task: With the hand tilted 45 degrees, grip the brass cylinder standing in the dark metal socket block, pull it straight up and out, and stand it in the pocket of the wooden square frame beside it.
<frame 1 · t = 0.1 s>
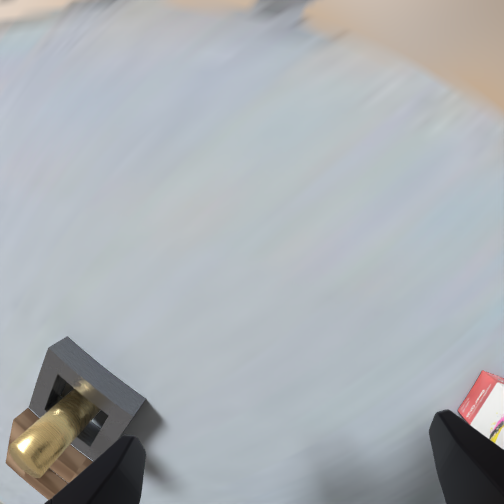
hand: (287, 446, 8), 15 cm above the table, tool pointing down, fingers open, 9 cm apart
wooden square frame: (57, 463, 27), on the table
socket block: (88, 397, 25), on the table
brass cylinder: (59, 426, 20), in the socket block
ink cartridge box: (491, 397, 23), on the table
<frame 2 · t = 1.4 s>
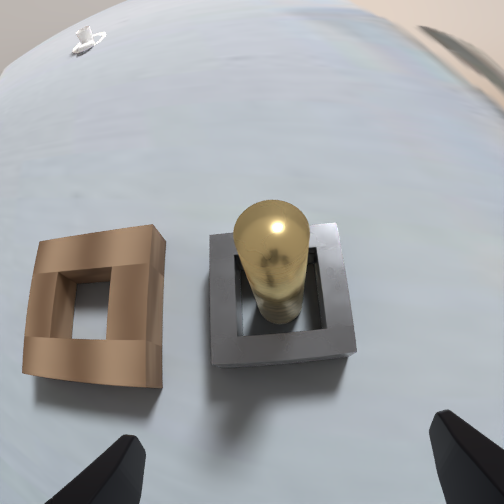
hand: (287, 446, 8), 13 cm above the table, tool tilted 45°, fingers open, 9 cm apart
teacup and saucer: (78, 53, 49), on the table
wooden square frame: (98, 313, 25), on the table
socket block: (280, 302, 23), on the table
brass cylinder: (277, 277, 18), in the socket block
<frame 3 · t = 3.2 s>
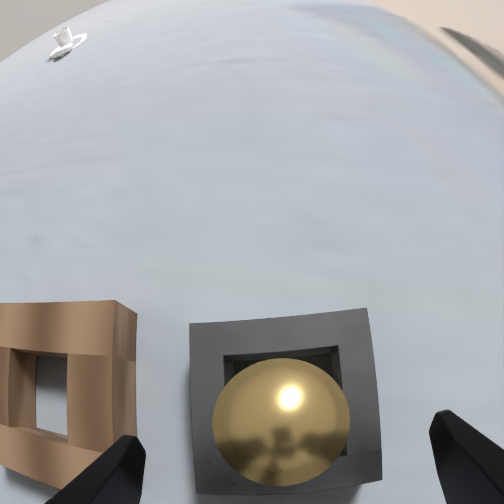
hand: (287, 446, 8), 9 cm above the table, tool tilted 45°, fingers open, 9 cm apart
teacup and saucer: (56, 57, 42), on the table
wooden square frame: (62, 397, 18), on the table
socket block: (285, 405, 17), on the table
brass cylinder: (284, 411, 12), in the socket block
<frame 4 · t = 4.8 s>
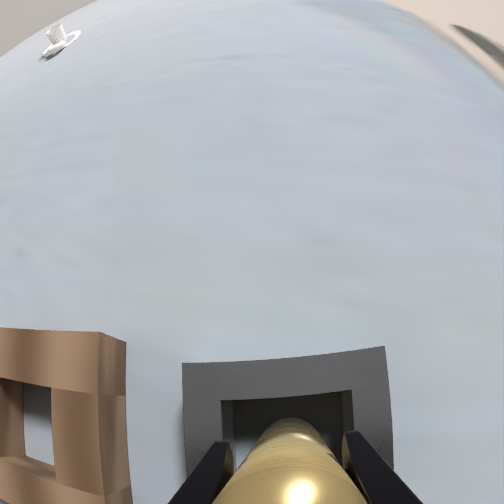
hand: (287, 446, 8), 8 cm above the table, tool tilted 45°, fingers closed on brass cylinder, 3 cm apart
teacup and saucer: (48, 56, 40), on the table
wooden square frame: (50, 426, 15), on the table
socket block: (289, 446, 14), on the table
brass cylinder: (289, 472, 9), in the socket block, touching gripper
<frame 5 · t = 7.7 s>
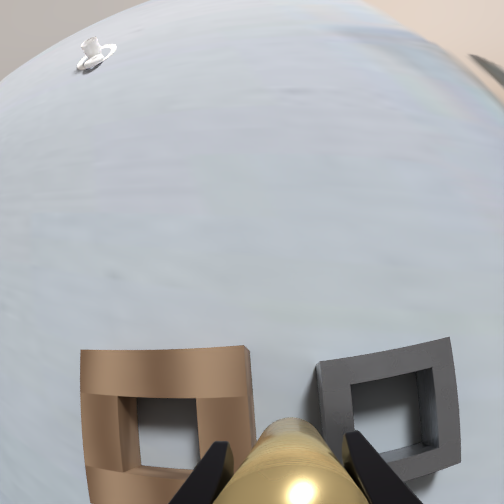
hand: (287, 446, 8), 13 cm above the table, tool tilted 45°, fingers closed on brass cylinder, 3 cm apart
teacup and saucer: (83, 69, 44), on the table
wooden square frame: (172, 433, 20), on the table
socket block: (384, 415, 19), on the table
brass cylinder: (290, 471, 9), point 11 cm above the table, touching gripper
when the fingers open (8 cm above the table, at t = 10.5 s): brass cylinder stays where it is, resting in wooden square frame.
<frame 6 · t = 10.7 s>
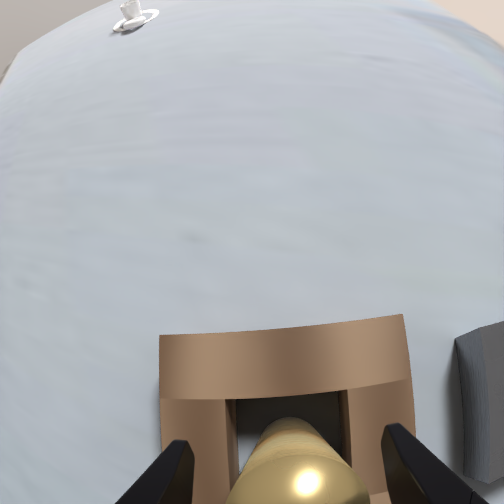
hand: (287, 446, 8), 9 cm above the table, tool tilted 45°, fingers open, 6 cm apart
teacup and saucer: (121, 31, 39), on the table
wooden square frame: (289, 443, 15), on the table
brass cylinder: (291, 466, 10), in the wooden square frame
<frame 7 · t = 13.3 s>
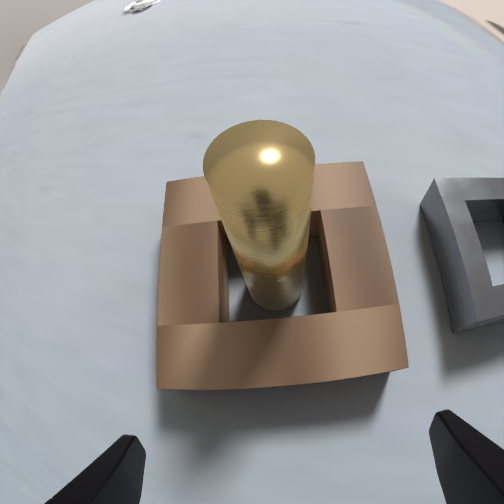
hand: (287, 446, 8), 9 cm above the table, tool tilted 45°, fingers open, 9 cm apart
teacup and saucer: (131, 12, 43), on the table
wooden square frame: (275, 282, 19), on the table
socket block: (488, 257, 18), on the table
brass cylinder: (270, 242, 14), in the wooden square frame
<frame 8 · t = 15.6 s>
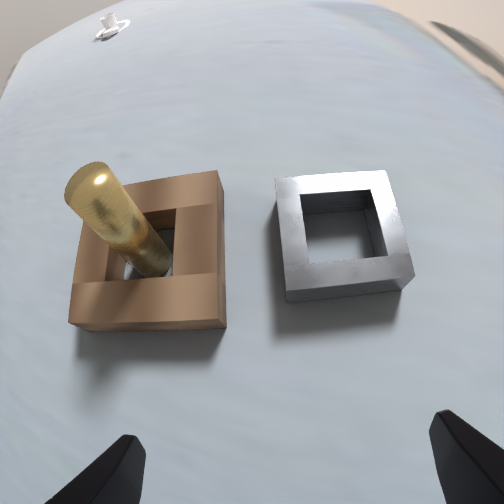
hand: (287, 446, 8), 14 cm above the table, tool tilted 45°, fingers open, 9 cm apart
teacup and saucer: (101, 38, 51), on the table
wooden square frame: (154, 259, 26), on the table
socket block: (337, 242, 25), on the table
brass cylinder: (125, 229, 21), in the wooden square frame
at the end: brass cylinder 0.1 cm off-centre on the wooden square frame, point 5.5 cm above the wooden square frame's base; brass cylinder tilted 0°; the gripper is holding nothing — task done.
